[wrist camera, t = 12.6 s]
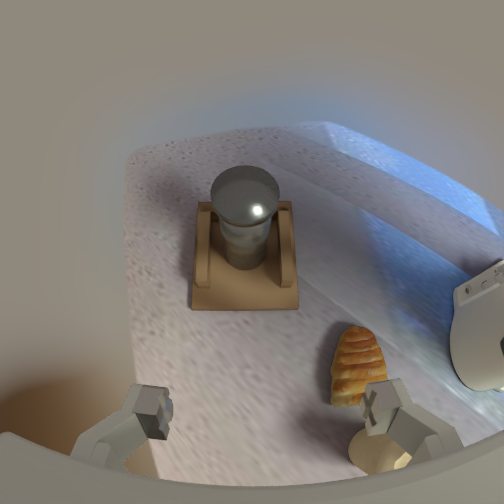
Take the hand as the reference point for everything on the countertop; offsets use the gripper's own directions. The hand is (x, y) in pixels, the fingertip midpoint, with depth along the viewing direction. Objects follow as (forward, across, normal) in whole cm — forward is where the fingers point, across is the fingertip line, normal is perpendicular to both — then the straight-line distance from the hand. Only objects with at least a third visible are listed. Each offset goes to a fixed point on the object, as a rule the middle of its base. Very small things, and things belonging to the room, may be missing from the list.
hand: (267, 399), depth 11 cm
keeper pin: (+26, +2, +4) cm, 26 cm away
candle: (+9, -12, +22) cm, 27 cm away
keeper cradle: (+26, +2, +4) cm, 27 cm away
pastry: (+16, -10, +15) cm, 25 cm away
